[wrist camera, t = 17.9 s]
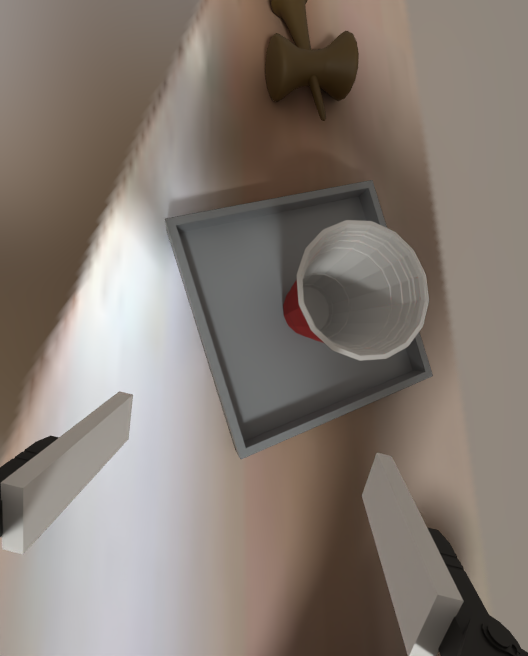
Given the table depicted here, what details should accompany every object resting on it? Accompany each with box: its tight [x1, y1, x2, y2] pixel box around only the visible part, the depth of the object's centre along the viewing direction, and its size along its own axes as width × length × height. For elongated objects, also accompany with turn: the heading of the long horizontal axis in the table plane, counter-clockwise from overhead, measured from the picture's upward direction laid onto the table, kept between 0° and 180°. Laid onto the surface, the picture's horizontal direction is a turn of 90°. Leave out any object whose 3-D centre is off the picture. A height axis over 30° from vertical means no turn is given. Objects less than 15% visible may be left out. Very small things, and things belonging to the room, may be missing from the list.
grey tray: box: [165, 180, 433, 459], centre depth 33 cm, size 24×24×3 cm
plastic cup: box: [283, 220, 429, 361], centre depth 28 cm, size 11×11×12 cm
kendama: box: [265, 0, 359, 121], centre depth 34 cm, size 6×10×20 cm
